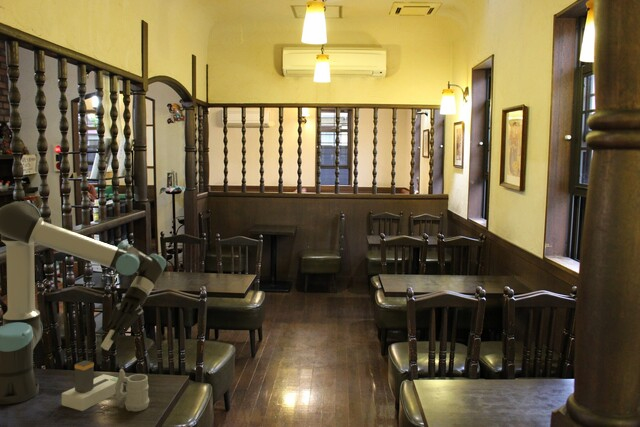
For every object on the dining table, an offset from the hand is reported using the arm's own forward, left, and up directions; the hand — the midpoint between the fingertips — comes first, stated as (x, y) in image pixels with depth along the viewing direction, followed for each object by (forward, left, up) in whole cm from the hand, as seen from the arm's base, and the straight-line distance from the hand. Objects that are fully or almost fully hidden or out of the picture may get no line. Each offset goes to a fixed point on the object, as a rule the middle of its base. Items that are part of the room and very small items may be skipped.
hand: (104, 348), depth 180 cm
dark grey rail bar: (+1, +6, -16) cm, 17 cm away
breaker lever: (0, -9, -11) cm, 14 cm away
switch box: (0, -5, -16) cm, 16 cm away
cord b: (+2, +8, -16) cm, 18 cm away
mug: (+16, -4, -16) cm, 23 cm away
